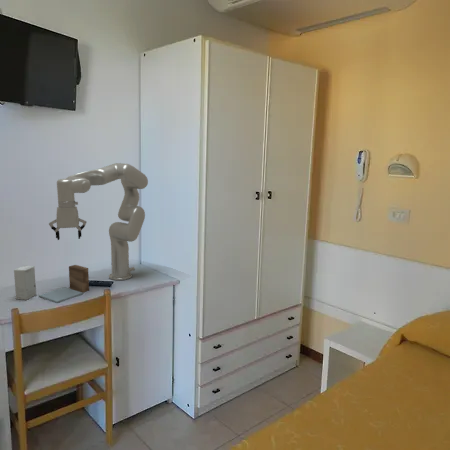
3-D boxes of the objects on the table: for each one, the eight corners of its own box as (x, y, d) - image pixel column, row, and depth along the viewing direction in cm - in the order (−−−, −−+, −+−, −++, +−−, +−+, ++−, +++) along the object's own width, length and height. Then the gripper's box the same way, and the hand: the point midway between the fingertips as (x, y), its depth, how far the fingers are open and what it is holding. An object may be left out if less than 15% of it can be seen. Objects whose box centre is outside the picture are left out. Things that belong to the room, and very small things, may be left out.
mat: (64, 288, 220) (64, 287, 220) (83, 294, 213) (83, 292, 213) (39, 296, 207) (38, 295, 207) (57, 303, 200) (57, 301, 200)
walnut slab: (76, 286, 224) (75, 264, 221) (89, 290, 218) (88, 268, 216) (69, 288, 220) (68, 266, 218) (82, 292, 215) (81, 269, 213)
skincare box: (26, 300, 203) (24, 270, 200) (15, 299, 203) (13, 269, 201) (36, 294, 211) (35, 265, 208) (25, 293, 212) (23, 264, 209)
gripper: (85, 202, 211) (87, 236, 214) (48, 203, 206) (51, 238, 210) (85, 205, 204) (87, 239, 207) (46, 206, 199) (49, 241, 203)
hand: (69, 238), depth 208 cm, fingers open, 9 cm apart
